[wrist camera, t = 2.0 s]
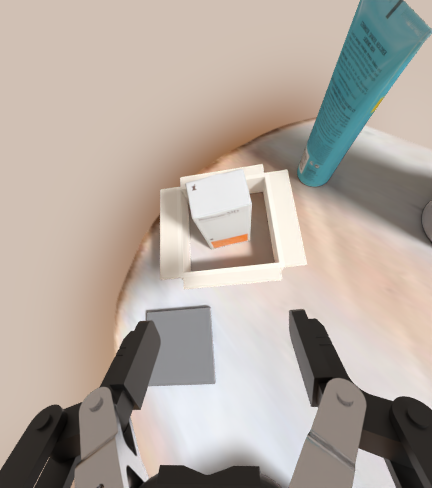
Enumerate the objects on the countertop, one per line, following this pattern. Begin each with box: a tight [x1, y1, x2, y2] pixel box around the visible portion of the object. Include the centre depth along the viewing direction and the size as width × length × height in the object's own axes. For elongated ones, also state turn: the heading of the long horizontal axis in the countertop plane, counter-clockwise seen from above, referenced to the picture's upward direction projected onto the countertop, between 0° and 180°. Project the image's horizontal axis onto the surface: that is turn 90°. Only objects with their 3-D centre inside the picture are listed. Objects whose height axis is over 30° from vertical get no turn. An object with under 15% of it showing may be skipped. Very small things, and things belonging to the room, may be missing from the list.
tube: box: [297, 0, 432, 187], centre depth 23 cm, size 7×5×19 cm, turn 20°
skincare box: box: [185, 169, 252, 249], centre depth 26 cm, size 6×4×12 cm
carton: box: [160, 164, 307, 290], centre depth 29 cm, size 18×16×4 cm
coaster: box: [147, 307, 216, 386], centre depth 28 cm, size 9×9×1 cm
